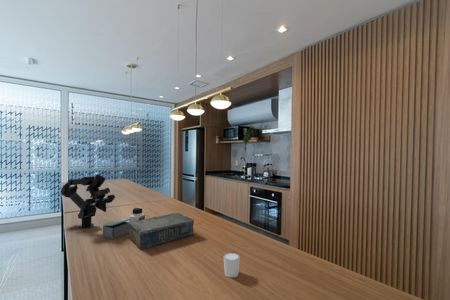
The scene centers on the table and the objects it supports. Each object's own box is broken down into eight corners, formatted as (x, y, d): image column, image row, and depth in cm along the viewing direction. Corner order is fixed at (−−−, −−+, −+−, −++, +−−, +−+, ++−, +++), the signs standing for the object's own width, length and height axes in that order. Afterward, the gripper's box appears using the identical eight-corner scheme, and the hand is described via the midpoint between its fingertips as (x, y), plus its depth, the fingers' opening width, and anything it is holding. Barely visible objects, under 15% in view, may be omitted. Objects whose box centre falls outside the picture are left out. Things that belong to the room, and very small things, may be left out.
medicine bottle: (138, 228, 143) (139, 209, 143) (129, 227, 144) (129, 209, 144) (144, 224, 150) (145, 207, 150) (135, 223, 151) (135, 206, 151)
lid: (102, 225, 128) (102, 224, 128) (120, 220, 139) (120, 218, 139) (112, 225, 124) (112, 224, 124) (130, 219, 135) (130, 218, 135)
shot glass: (222, 269, 92) (222, 252, 92) (238, 268, 93) (238, 252, 93) (224, 278, 86) (224, 260, 86) (241, 277, 86) (241, 260, 86)
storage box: (102, 236, 128) (103, 226, 128) (120, 230, 138) (120, 220, 139) (112, 239, 124) (113, 228, 124) (130, 232, 134) (130, 222, 135)
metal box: (194, 236, 130) (195, 219, 130) (140, 251, 109) (140, 231, 109) (178, 226, 146) (178, 212, 146) (127, 238, 125) (127, 221, 125)
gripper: (86, 186, 131) (97, 206, 125) (114, 182, 147) (124, 200, 142) (78, 197, 134) (88, 218, 129) (106, 192, 151) (116, 211, 146)
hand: (105, 211), depth 136 cm, fingers closed
